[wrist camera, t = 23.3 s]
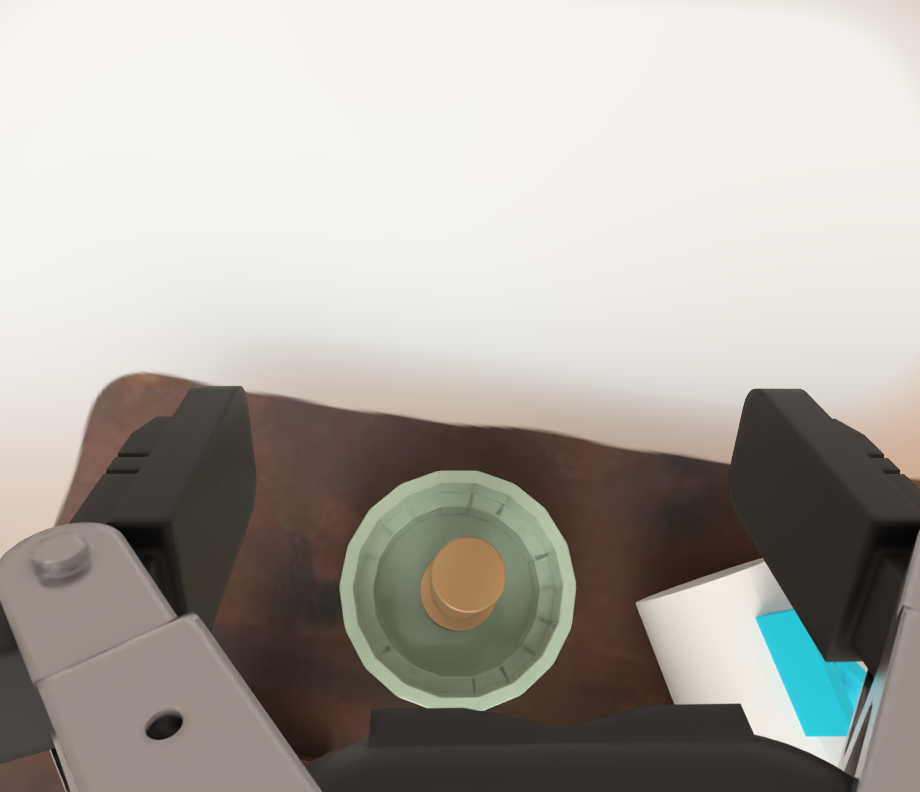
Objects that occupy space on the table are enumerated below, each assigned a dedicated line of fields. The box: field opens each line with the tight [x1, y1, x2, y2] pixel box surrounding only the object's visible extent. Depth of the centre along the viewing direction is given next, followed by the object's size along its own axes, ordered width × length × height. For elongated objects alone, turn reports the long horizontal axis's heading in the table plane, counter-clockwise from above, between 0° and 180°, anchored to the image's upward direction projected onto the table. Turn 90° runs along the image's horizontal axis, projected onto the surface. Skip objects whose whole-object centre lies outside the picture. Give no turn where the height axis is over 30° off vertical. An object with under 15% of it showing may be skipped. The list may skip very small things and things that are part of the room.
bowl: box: [339, 471, 576, 711], centre depth 35 cm, size 10×10×6 cm
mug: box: [636, 558, 868, 767], centre depth 34 cm, size 12×9×12 cm
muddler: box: [420, 536, 506, 631], centre depth 32 cm, size 4×4×12 cm
